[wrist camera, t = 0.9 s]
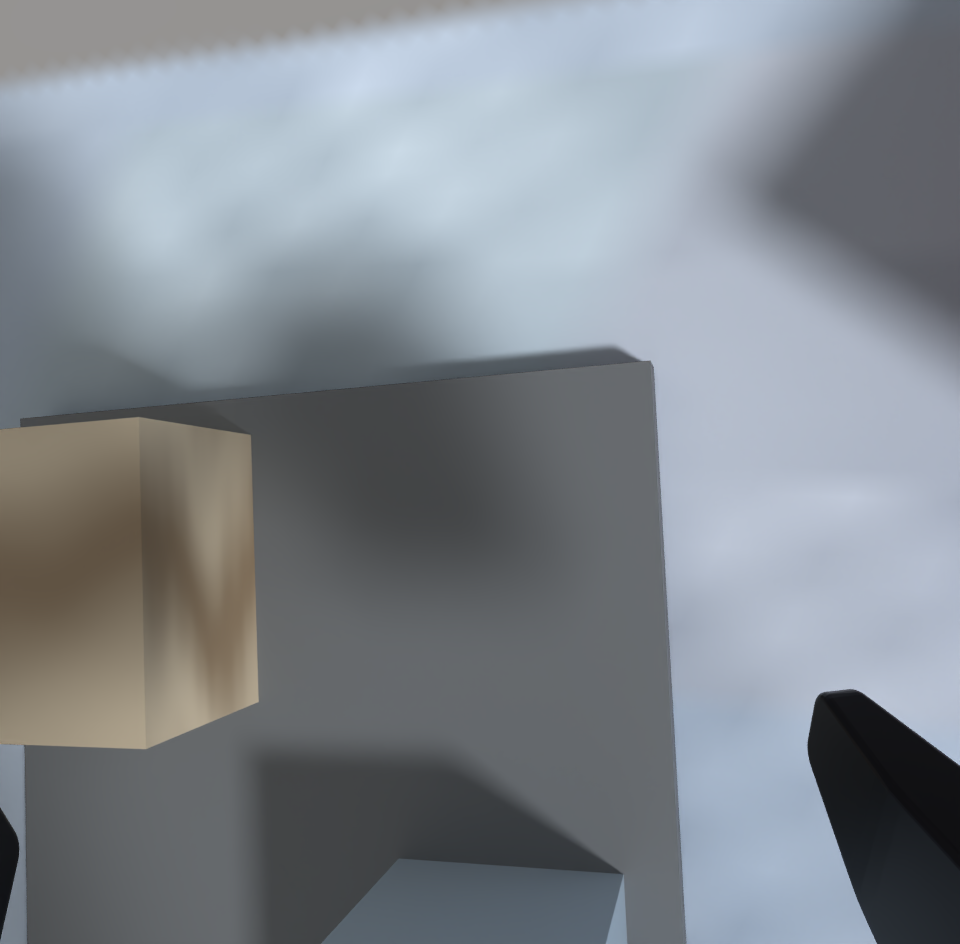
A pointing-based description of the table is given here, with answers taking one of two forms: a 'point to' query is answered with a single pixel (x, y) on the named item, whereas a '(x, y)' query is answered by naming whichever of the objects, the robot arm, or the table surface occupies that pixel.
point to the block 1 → (124, 582)
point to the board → (401, 673)
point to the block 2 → (486, 906)
